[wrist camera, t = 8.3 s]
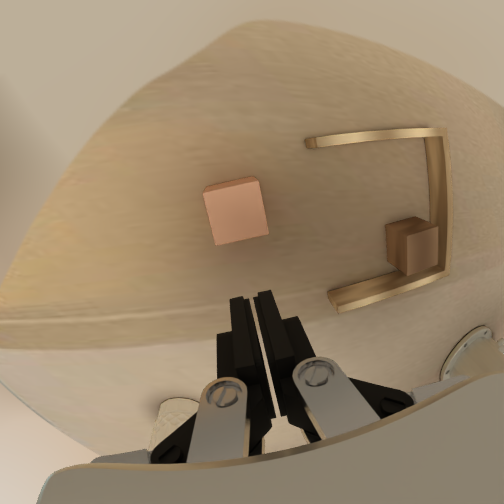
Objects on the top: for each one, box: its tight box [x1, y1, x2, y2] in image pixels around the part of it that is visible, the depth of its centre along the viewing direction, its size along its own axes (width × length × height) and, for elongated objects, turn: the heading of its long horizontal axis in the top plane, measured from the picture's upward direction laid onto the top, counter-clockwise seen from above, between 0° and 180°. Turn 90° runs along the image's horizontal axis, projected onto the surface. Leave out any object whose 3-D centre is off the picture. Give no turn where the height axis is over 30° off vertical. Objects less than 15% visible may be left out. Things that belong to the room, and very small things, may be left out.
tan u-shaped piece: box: [305, 128, 453, 314], centre depth 24 cm, size 14×16×3 cm
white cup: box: [148, 398, 199, 451], centre depth 27 cm, size 8×8×10 cm
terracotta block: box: [203, 176, 269, 246], centre depth 22 cm, size 4×4×4 cm
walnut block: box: [385, 217, 438, 276], centre depth 24 cm, size 4×4×4 cm
